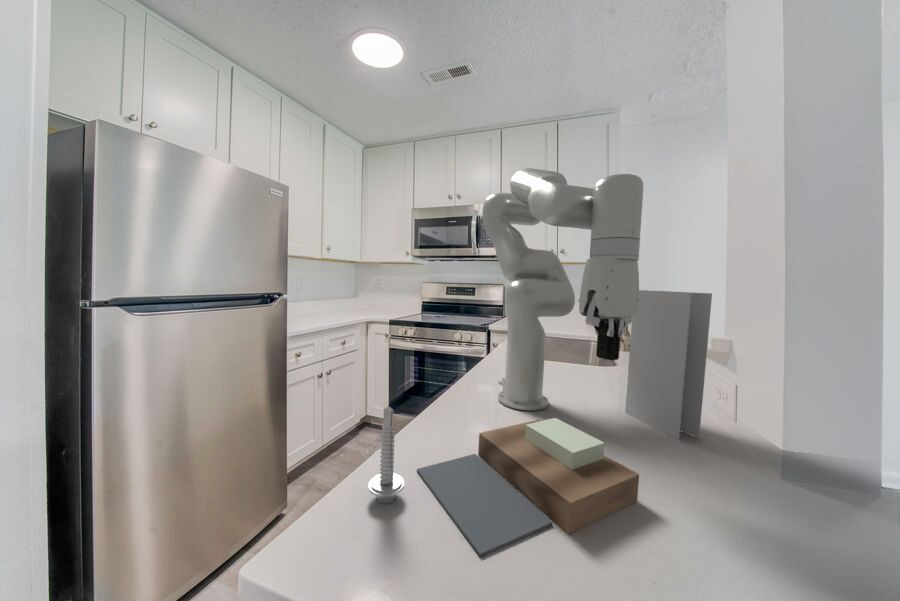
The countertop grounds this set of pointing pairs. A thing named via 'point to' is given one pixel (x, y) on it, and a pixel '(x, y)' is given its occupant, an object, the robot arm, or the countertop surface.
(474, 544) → the mat
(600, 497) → the brown wooden flat block
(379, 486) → the screw
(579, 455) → the tile
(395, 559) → the countertop surface
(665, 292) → the brochure
